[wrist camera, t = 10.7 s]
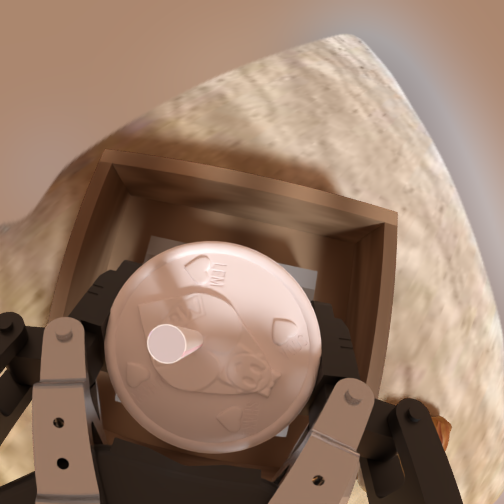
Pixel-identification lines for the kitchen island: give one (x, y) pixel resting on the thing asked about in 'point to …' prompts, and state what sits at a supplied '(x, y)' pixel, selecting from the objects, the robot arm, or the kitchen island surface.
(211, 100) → the kitchen island surface
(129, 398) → the smoothie
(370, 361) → the crate
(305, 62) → the kitchen island surface
